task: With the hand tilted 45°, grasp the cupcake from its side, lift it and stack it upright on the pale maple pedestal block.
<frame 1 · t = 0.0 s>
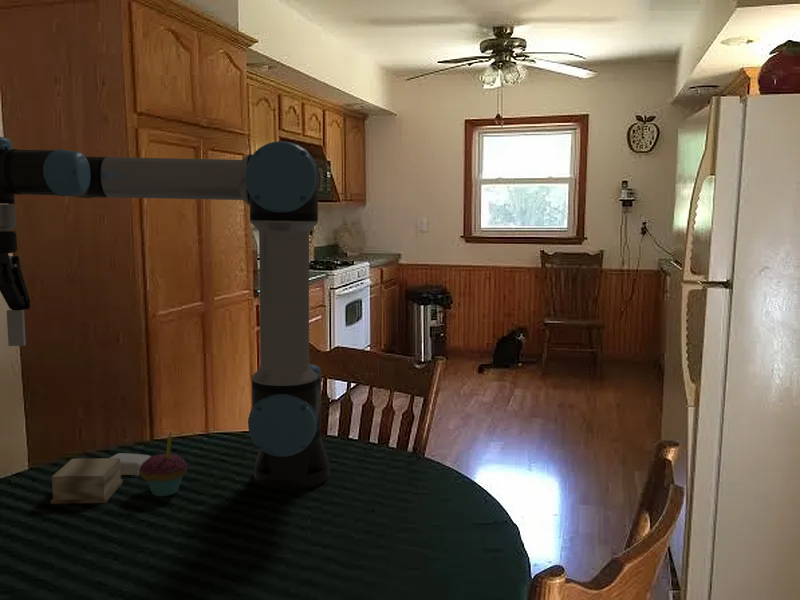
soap: (128, 471, 140), on the table
cupcake: (164, 492, 129), on the table
pedestal: (88, 492, 128), on the table
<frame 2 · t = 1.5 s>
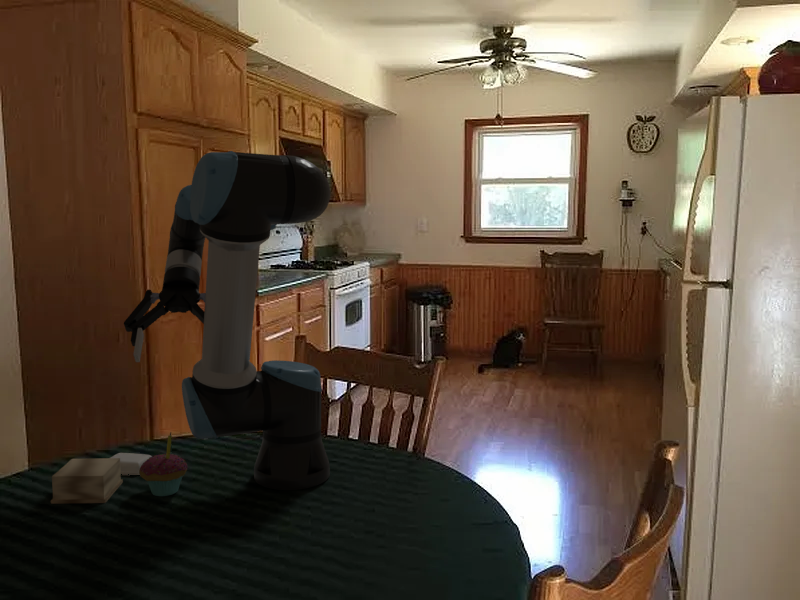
hand: (172, 358, 136), 24 cm above the table, tool tilted 45°, fingers open, 13 cm apart
nothing on the table moved.
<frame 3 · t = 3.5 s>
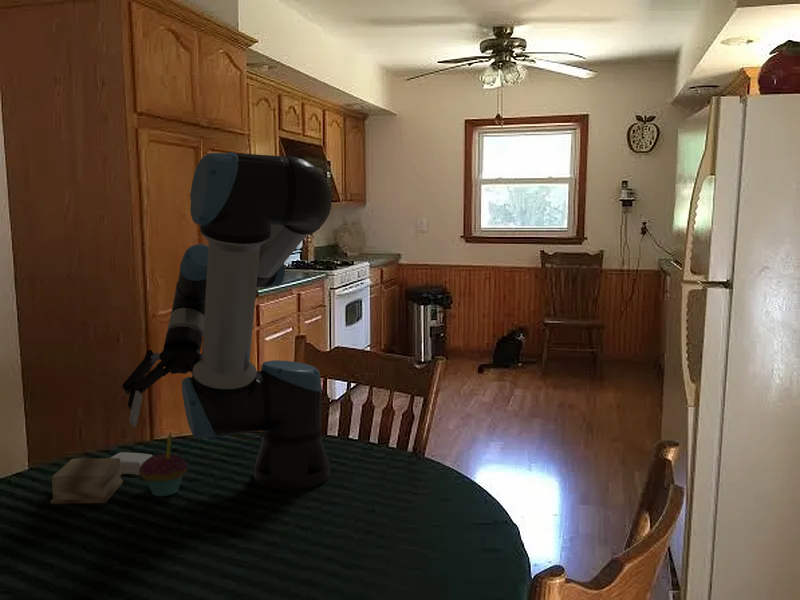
hand: (167, 423, 134), 11 cm above the table, tool tilted 45°, fingers open, 13 cm apart
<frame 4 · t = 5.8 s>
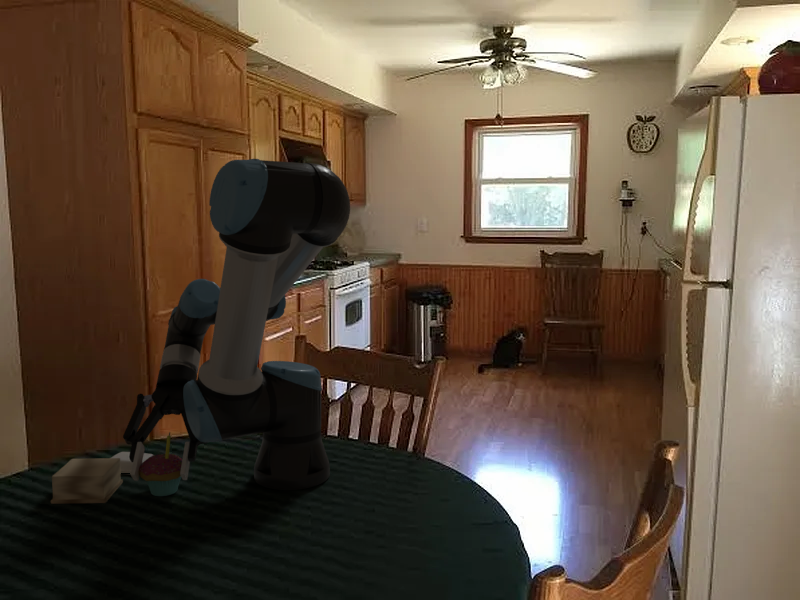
hand: (159, 477, 125), 4 cm above the table, tool tilted 45°, fingers closed on cupcake, 8 cm apart
cupcake: (163, 492, 129), on the table, touching gripper
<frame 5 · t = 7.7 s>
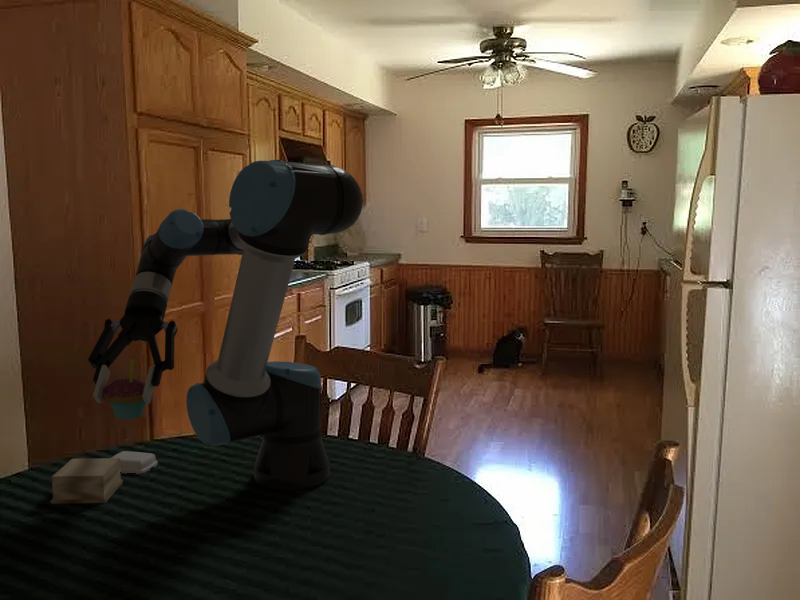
hand: (121, 399, 125), 18 cm above the table, tool tilted 45°, fingers closed on cupcake, 8 cm apart
cupcake: (128, 416, 129), point 14 cm above the table, touching gripper
when the fingers open (11 cm above the table, at t = 9.9 s): cupcake drops 1 cm, resting on pedestal.
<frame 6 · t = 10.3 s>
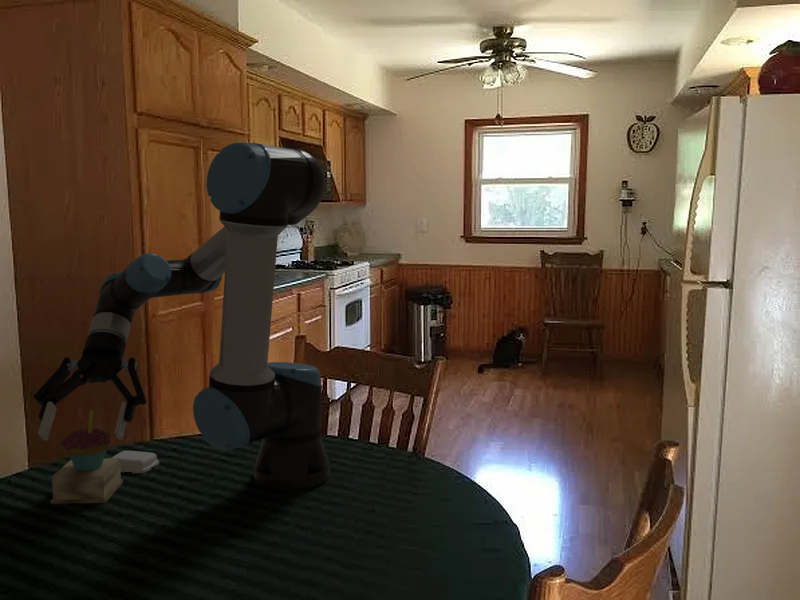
hand: (80, 436, 124), 12 cm above the table, tool tilted 45°, fingers open, 13 cm apart
cupcake: (87, 467, 127), point 5 cm above the table, touching pedestal
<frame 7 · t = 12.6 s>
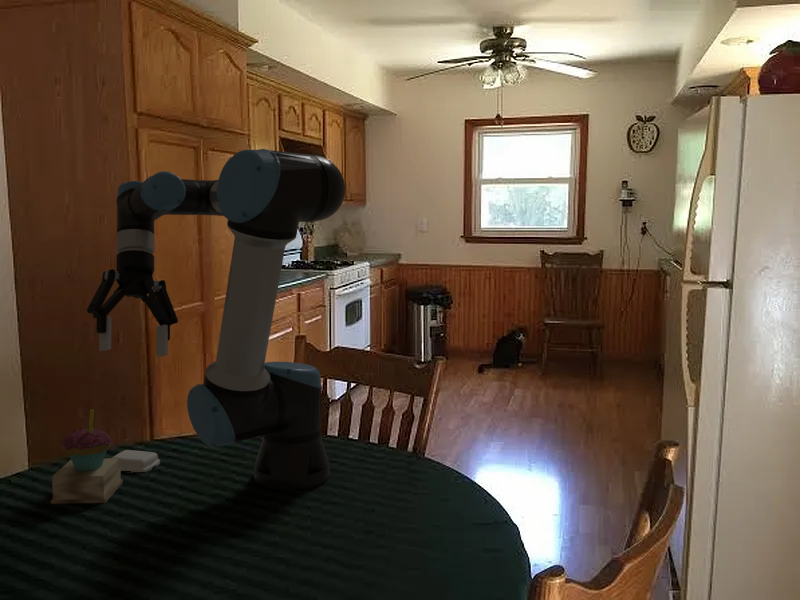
hand: (134, 353, 139), 24 cm above the table, tool tilted 20°, fingers open, 13 cm apart
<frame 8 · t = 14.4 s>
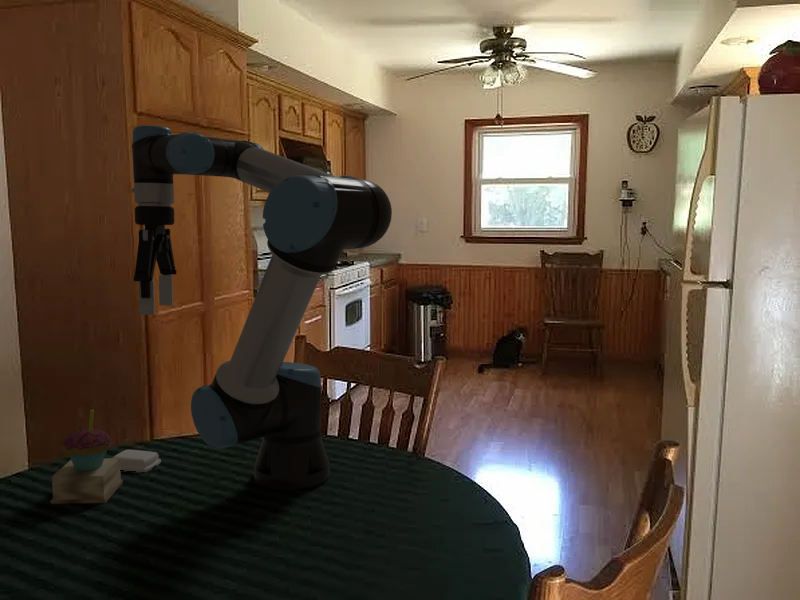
hand: (157, 309, 139), 33 cm above the table, tool pointing down, fingers open, 13 cm apart
at the end: cupcake 0.1 cm from the pedestal (horizontally); cupcake point 4.8 cm above the table; cupcake tilted 0° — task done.
